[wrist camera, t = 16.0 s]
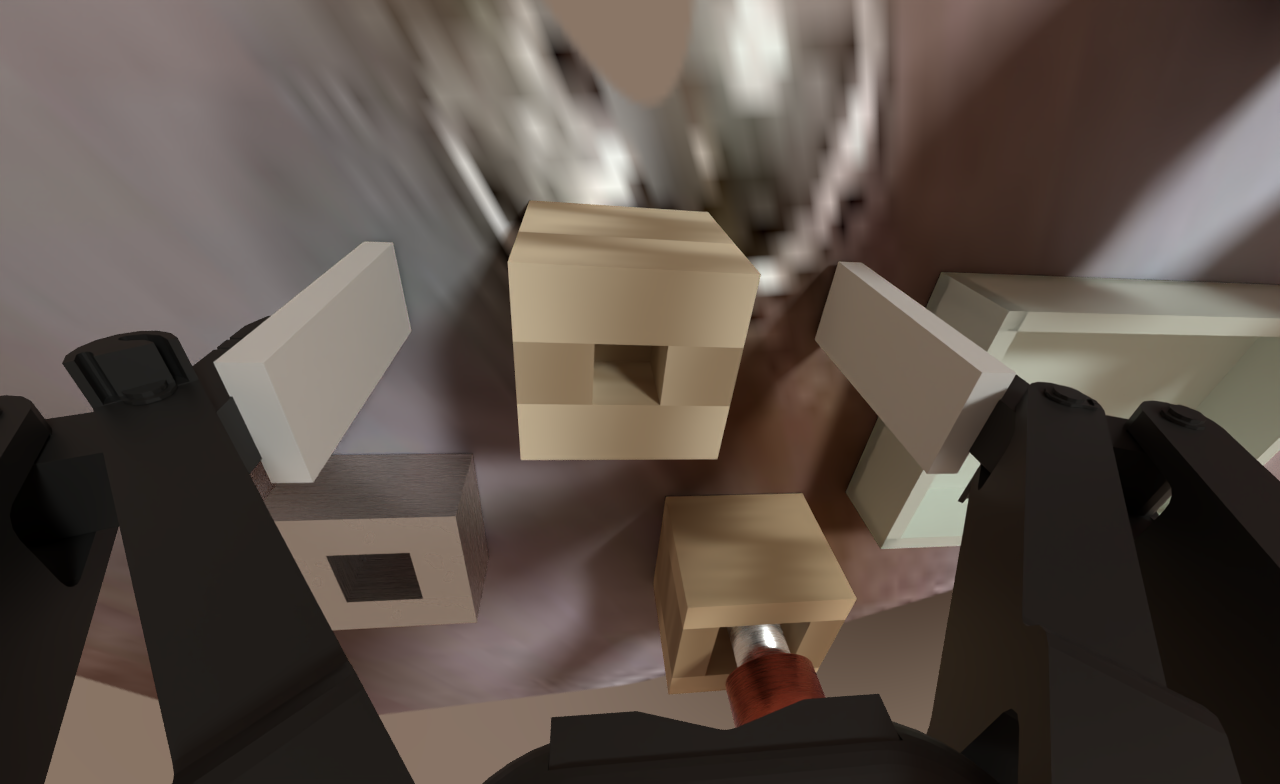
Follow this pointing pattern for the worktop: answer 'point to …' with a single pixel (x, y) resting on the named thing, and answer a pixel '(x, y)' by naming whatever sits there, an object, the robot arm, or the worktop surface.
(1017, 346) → the tray
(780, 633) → the cylinder
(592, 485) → the worktop surface
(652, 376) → the maple block
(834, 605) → the oak block
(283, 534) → the stand
